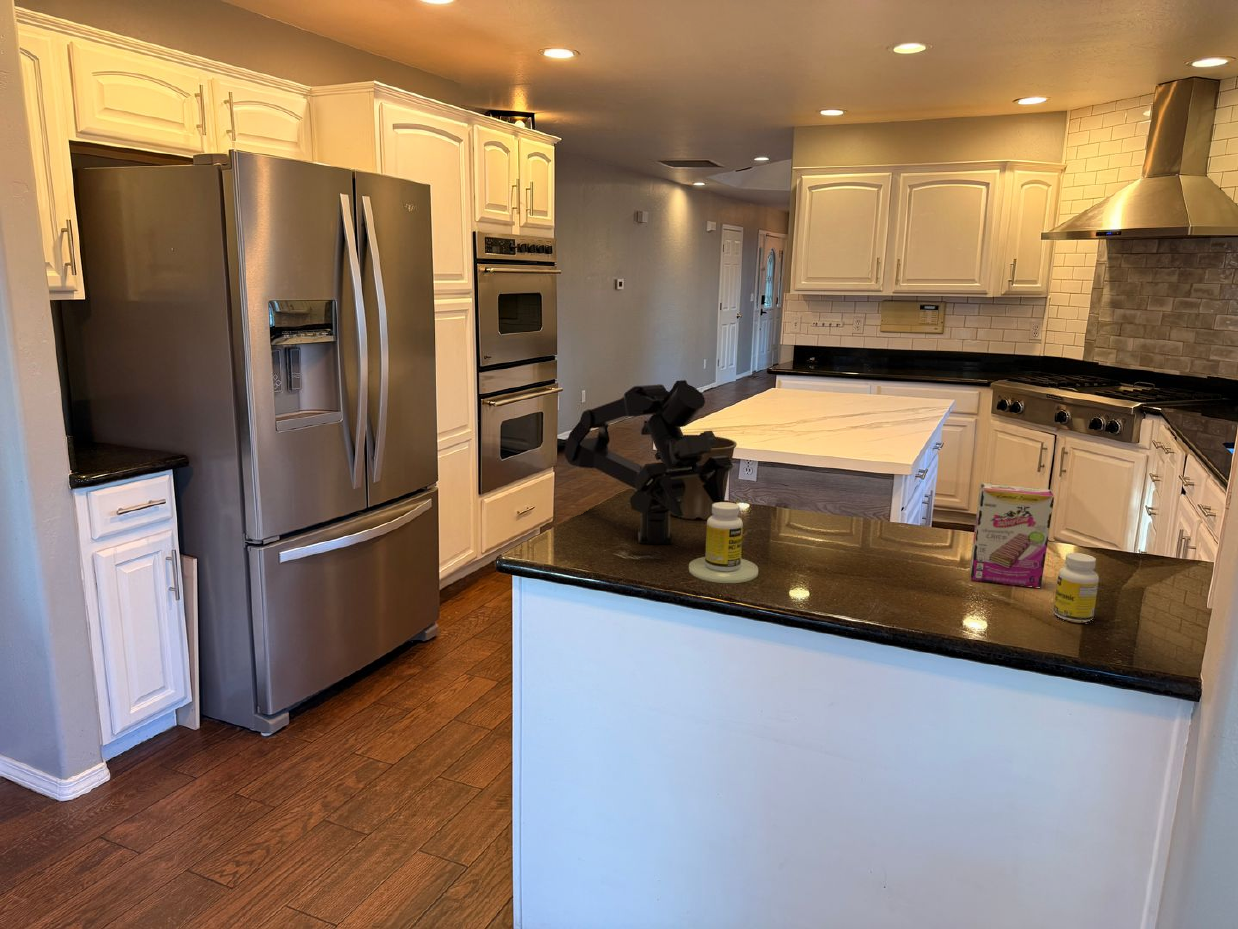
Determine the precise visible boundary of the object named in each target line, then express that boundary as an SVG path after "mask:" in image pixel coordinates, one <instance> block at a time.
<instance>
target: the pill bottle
mask: <svg viewBox="0 0 1238 929" xmlns="http://www.w3.org/2000/svg"><path fill="white" fill-rule="evenodd" d="M712 513H713V515H712V516H711V517H709V518H708V519H706V520H707V521H706V535H705V536H706V537H705V539H706V540H705V556H704V557H705V564H706V566H707V567H708V568H710V569H713V570H717V571H724V572H726V571H734V570H737V569H738V568H739V567H740V565H741V559H742V545H743V529H744V528H743V527H744V523H743V520H742V518H741V517H739V515H740V505H739V504H737V503H733V502H726V501H724V502H719V503H714V504H713V505H712Z"/></svg>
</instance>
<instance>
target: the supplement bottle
mask: <svg viewBox="0 0 1238 929" xmlns="http://www.w3.org/2000/svg"><path fill="white" fill-rule="evenodd" d="M1096 562H1097V558H1096V557H1094V556H1092V555H1089V554H1086V553H1081V552H1080V553H1079V552H1069V553H1067V554H1066V555H1065V560H1064V564H1065V566H1063V567H1061V568H1060V569H1059V570H1058V574H1057V581H1056V582H1057V584H1056V589H1055V596H1054V604H1053V614H1054V613H1055V615H1057V616H1058V617H1060V618H1063V619H1068V620H1074V621H1083V622H1087V621H1090V620H1092V619H1093V620H1094V616H1095V610H1096V603H1097V594H1098V588H1099V587H1098V586H1099V579H1100V578H1099V574H1098V573H1097V572H1095V571H1094V569H1095V568H1096V564H1097V563H1096ZM1055 615H1054V616H1055ZM1093 620H1092V621H1093Z"/></svg>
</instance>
